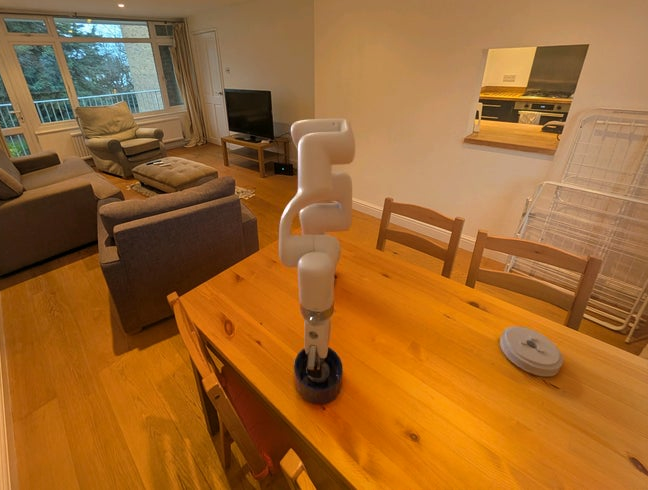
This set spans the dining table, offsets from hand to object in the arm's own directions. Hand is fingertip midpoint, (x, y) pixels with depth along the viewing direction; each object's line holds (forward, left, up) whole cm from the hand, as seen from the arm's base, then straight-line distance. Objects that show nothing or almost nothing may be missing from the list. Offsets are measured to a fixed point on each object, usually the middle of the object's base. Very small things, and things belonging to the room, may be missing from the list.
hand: (317, 356), depth 72 cm
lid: (-43, +37, -10) cm, 57 cm away
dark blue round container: (0, 0, -9) cm, 9 cm away
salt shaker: (0, 0, -9) cm, 9 cm away
